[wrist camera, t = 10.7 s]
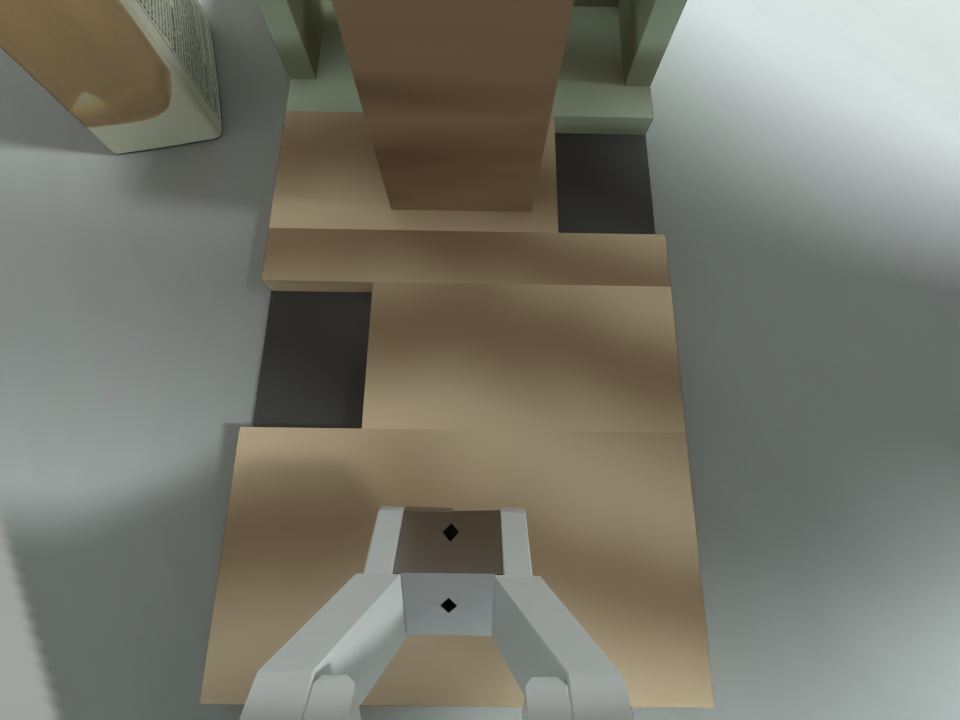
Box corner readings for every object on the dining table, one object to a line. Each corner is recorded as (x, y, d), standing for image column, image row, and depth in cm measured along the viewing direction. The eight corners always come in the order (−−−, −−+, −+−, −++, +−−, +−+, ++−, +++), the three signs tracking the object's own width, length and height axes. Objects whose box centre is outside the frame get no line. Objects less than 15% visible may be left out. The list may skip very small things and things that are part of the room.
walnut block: (531, 211, 17) (589, -73, 9) (391, 209, 17) (308, -78, 9) (527, 37, 20) (570, -330, 11) (403, 34, 19) (346, -337, 11)
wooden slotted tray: (697, 693, 14) (796, 780, 10) (218, 690, 14) (104, 775, 10) (632, 12, 21) (673, -112, 17) (311, 5, 21) (270, -122, 17)
